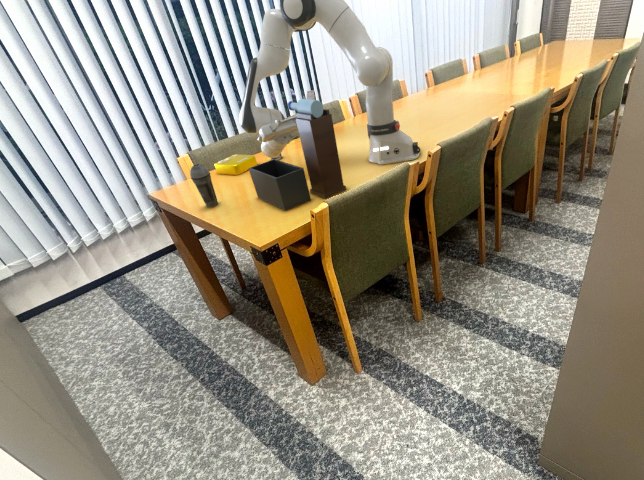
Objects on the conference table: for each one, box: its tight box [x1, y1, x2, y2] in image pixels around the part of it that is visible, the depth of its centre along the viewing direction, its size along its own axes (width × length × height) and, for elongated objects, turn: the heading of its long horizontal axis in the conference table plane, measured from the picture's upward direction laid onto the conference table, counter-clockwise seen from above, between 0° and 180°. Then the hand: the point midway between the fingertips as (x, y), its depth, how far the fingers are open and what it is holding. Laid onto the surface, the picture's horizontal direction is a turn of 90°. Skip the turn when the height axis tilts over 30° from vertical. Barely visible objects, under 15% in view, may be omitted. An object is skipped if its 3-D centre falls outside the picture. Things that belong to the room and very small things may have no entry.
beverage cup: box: [189, 151, 219, 209], centre depth 149 cm, size 7×7×20 cm
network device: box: [305, 89, 317, 100], centre depth 210 cm, size 26×9×20 cm, turn 6°
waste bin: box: [248, 159, 312, 212], centre depth 147 cm, size 21×11×12 cm, turn 40°
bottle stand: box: [295, 108, 347, 200], centre depth 141 cm, size 10×10×28 cm
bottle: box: [287, 98, 324, 118], centre depth 134 cm, size 17×5×5 cm, turn 40°
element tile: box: [213, 154, 258, 176], centre depth 187 cm, size 15×15×5 cm
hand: (289, 118), depth 145 cm, fingers open, 8 cm apart
